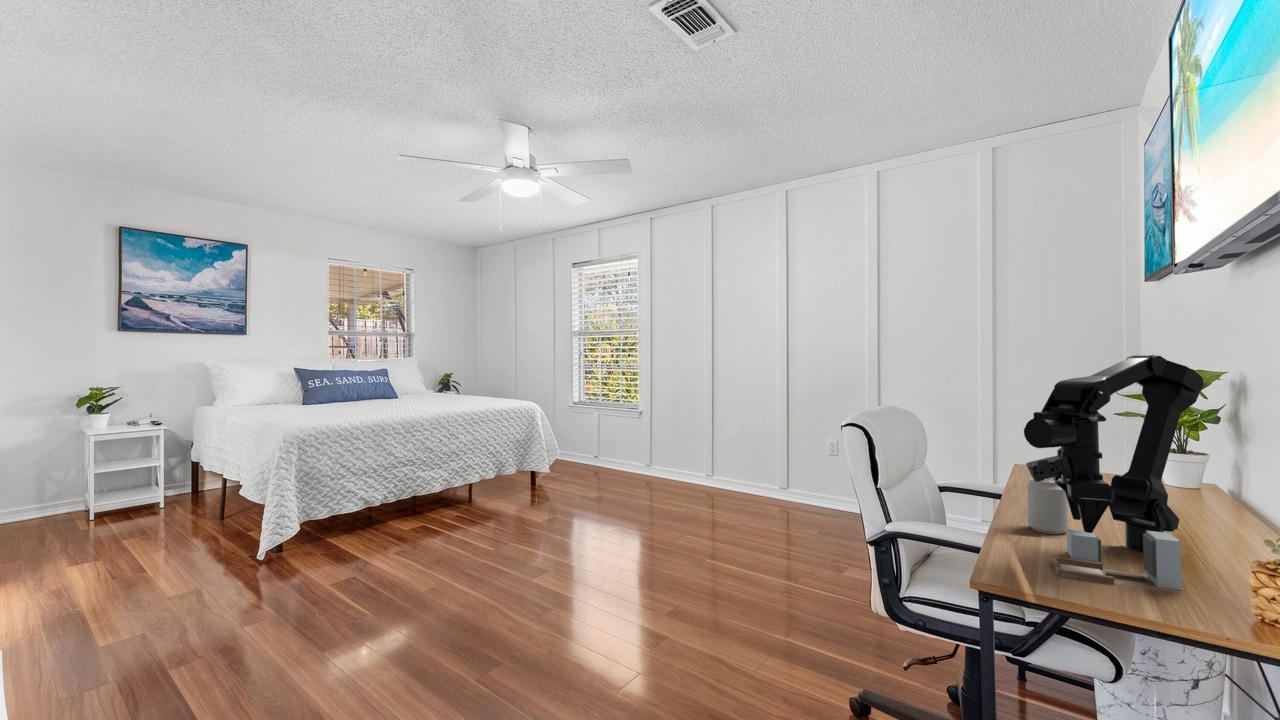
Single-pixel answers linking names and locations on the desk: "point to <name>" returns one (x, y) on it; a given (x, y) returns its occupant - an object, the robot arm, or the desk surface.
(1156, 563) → the block
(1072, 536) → the finger block
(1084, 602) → the desk surface
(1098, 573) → the rail
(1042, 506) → the can
